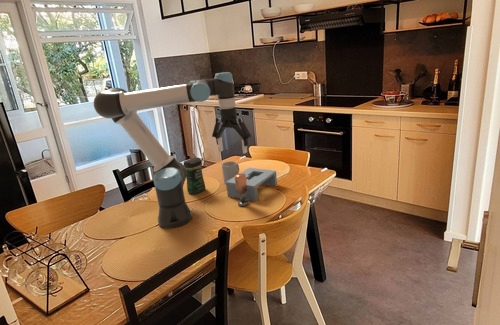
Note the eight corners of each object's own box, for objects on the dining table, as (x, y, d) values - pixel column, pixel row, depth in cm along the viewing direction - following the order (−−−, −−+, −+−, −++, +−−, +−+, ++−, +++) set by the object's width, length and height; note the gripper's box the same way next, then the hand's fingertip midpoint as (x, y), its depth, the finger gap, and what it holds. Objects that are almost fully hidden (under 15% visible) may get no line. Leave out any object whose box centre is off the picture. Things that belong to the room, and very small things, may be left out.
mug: (232, 185, 186) (230, 167, 182) (220, 183, 191) (218, 165, 187) (245, 178, 195) (243, 160, 191) (233, 176, 200) (231, 158, 196)
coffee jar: (194, 195, 178) (189, 162, 172) (185, 192, 183) (179, 160, 177) (208, 189, 184) (203, 157, 179) (199, 186, 190) (194, 155, 184)
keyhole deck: (255, 201, 163) (254, 186, 161) (227, 196, 172) (225, 182, 170) (277, 184, 181) (276, 170, 178) (250, 180, 190) (249, 167, 187)
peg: (245, 207, 158) (241, 178, 153) (236, 205, 161) (232, 176, 156) (250, 202, 162) (247, 174, 157) (242, 201, 165) (238, 172, 160)
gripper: (255, 105, 149) (259, 151, 156) (210, 106, 162) (216, 148, 168) (247, 108, 143) (251, 155, 150) (200, 109, 156) (207, 152, 162)
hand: (232, 151), depth 159 cm, fingers open, 13 cm apart
